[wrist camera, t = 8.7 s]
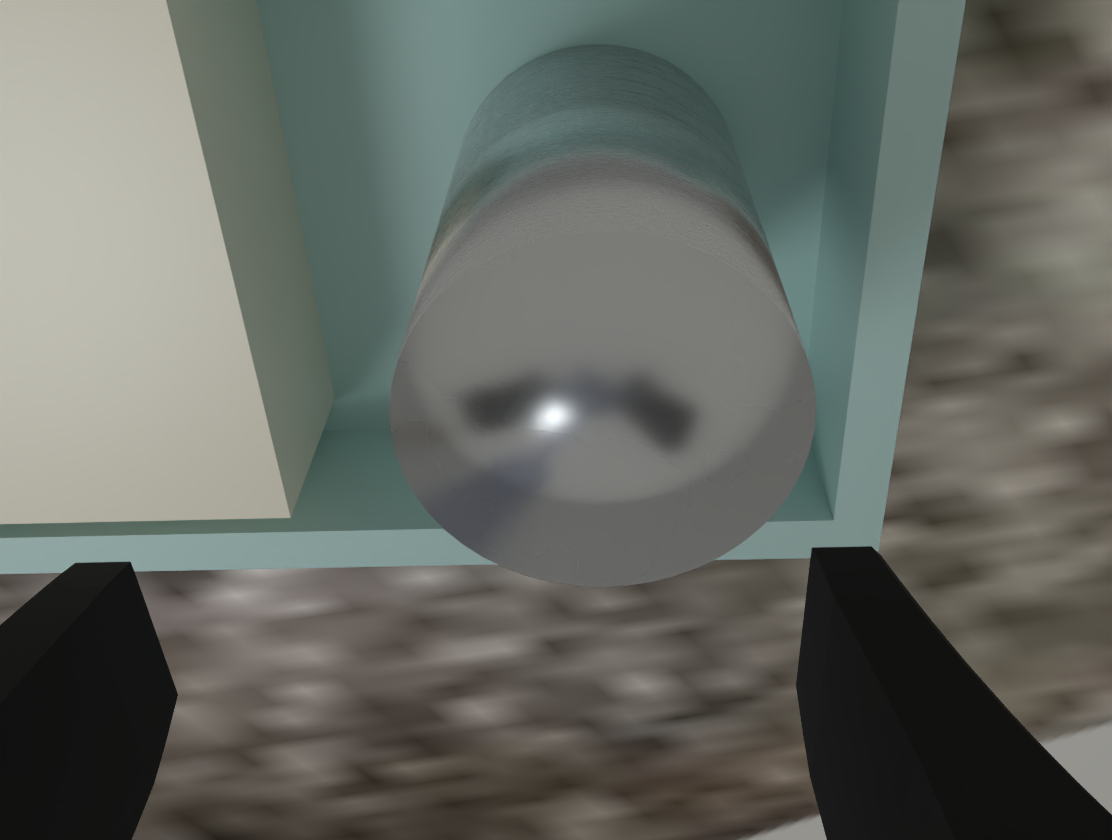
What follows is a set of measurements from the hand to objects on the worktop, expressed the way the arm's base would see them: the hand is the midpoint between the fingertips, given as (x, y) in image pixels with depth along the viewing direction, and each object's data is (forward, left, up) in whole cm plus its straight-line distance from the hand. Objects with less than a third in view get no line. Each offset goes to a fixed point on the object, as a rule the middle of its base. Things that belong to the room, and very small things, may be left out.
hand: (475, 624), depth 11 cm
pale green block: (-6, +2, -8) cm, 10 cm away
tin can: (+1, +2, -8) cm, 9 cm away
